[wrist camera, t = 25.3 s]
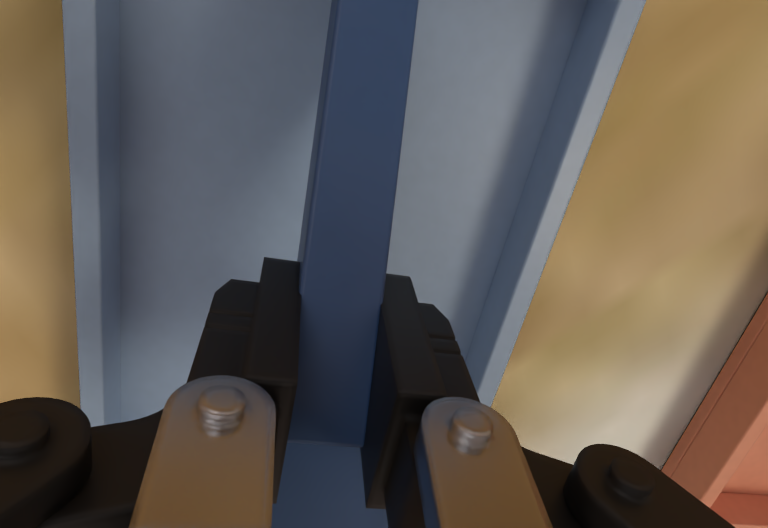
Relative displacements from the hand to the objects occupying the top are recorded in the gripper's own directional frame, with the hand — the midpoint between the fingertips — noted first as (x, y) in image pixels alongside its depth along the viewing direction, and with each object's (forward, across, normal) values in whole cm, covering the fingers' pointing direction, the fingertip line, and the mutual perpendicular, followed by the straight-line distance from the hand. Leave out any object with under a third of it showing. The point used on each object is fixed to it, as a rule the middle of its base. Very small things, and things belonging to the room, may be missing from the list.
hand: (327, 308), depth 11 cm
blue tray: (+5, 0, +1) cm, 5 cm away
